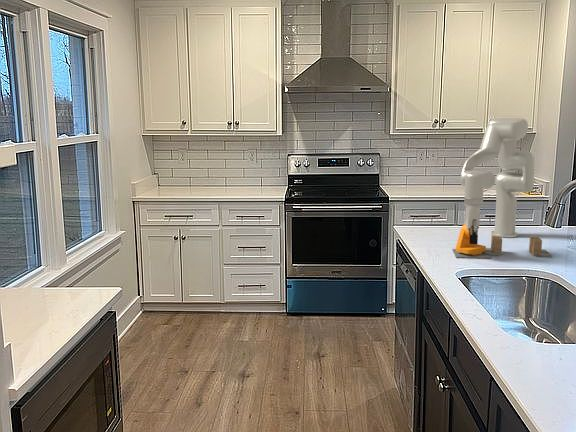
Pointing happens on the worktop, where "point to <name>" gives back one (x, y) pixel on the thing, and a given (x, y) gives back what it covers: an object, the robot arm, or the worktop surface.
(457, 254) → the mat
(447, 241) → the worktop surface
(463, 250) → the bracket
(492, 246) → the vise jaws
